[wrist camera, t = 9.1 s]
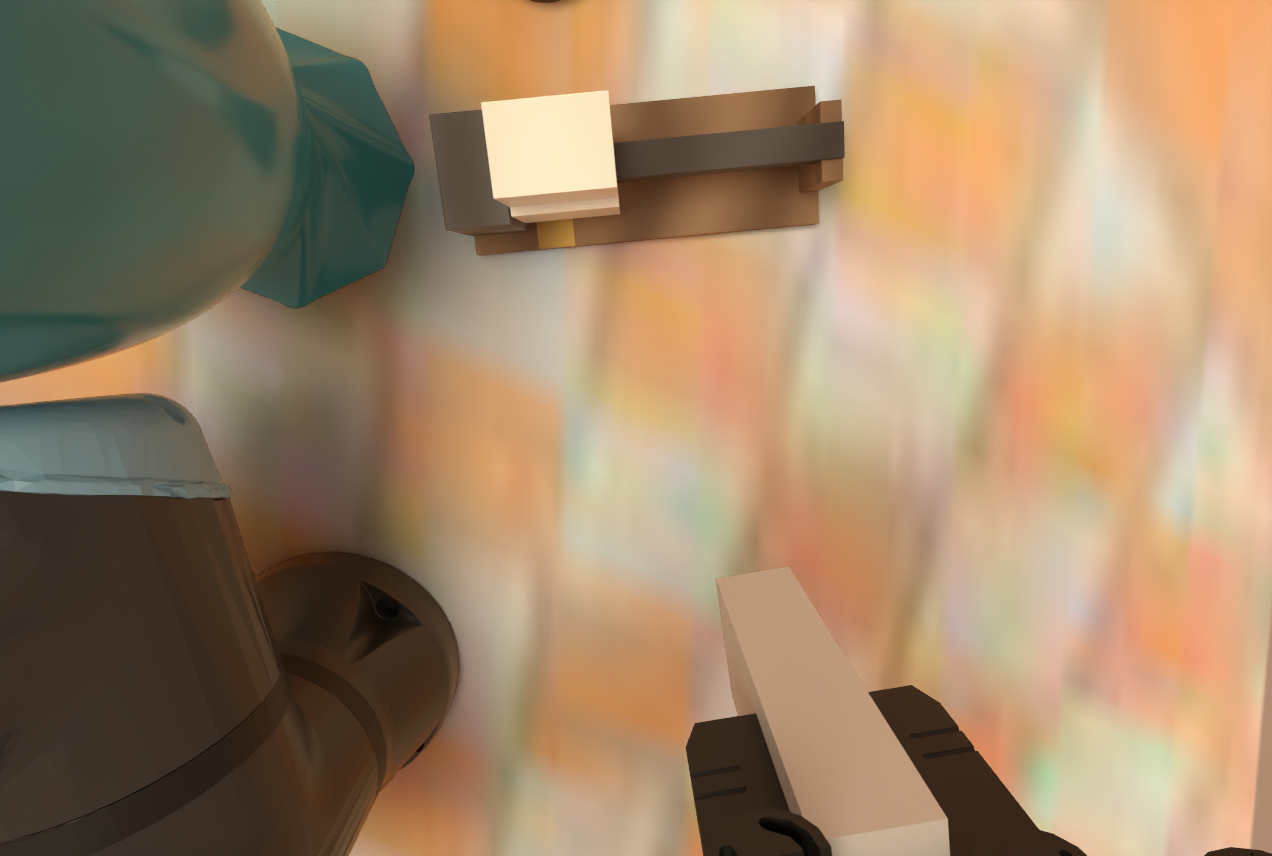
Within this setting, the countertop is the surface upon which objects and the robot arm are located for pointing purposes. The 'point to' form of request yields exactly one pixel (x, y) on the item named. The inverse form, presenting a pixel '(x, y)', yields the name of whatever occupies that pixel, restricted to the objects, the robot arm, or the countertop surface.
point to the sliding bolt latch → (665, 171)
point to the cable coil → (545, 0)
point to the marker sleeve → (552, 156)
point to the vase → (177, 171)
